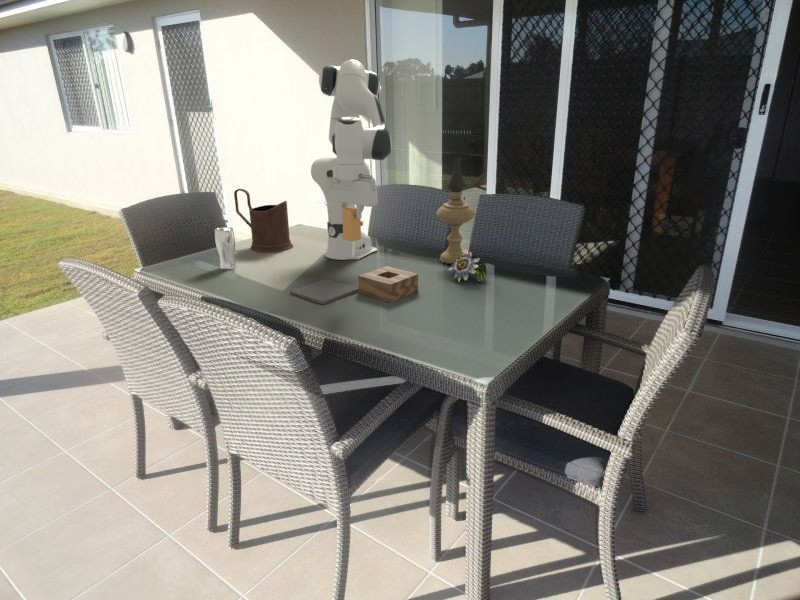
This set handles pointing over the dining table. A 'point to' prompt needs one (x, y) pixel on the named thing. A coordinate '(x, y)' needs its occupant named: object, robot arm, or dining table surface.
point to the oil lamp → (455, 214)
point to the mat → (324, 291)
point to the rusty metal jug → (267, 226)
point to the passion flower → (467, 267)
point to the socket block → (388, 283)
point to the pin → (351, 224)
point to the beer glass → (225, 247)
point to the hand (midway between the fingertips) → (351, 217)
